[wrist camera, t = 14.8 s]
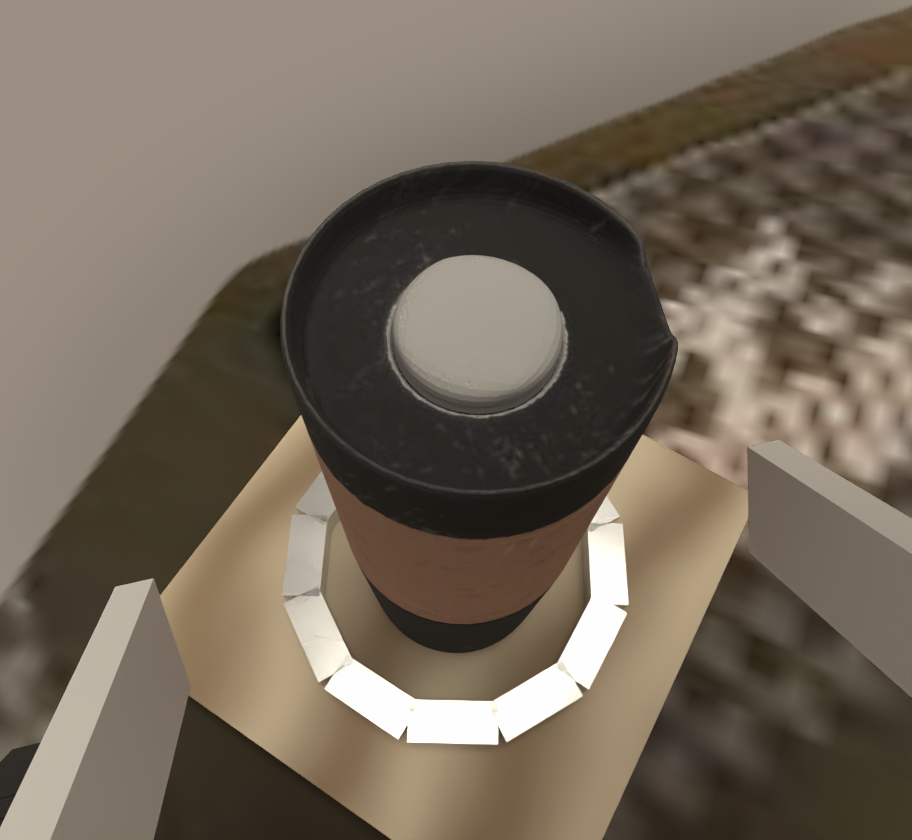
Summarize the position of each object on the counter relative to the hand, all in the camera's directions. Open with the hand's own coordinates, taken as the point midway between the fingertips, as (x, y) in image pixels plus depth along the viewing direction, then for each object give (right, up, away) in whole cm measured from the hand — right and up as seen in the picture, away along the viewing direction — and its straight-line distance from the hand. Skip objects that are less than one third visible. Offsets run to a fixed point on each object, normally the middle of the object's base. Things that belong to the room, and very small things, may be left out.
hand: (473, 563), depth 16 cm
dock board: (0, -4, +17) cm, 18 cm away
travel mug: (0, -3, +16) cm, 16 cm away
